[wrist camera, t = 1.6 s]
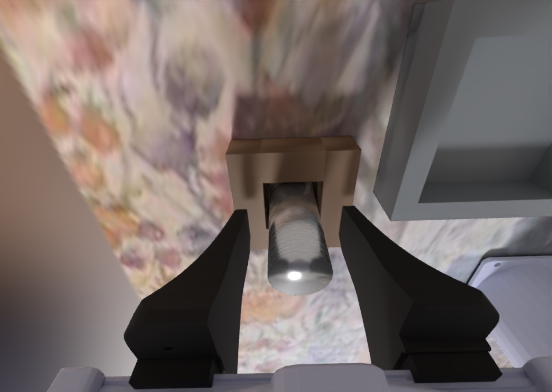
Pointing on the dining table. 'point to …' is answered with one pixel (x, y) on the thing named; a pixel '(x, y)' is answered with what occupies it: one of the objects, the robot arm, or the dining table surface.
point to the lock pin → (296, 240)
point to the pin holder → (293, 178)
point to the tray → (471, 114)
